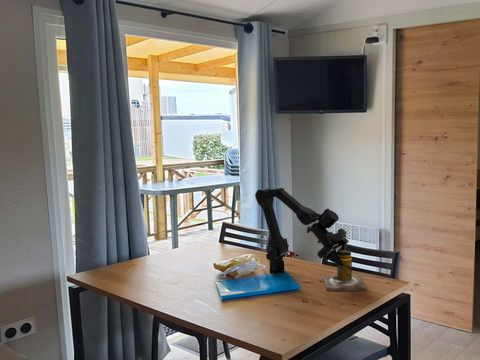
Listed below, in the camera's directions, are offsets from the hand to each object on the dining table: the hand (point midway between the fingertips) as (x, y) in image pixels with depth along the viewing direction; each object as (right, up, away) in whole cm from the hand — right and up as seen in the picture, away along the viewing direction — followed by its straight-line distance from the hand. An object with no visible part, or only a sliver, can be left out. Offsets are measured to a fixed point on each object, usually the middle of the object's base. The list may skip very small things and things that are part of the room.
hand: (346, 263), depth 200 cm
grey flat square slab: (-1, -9, +2) cm, 9 cm away
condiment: (-1, -7, +1) cm, 7 cm away
